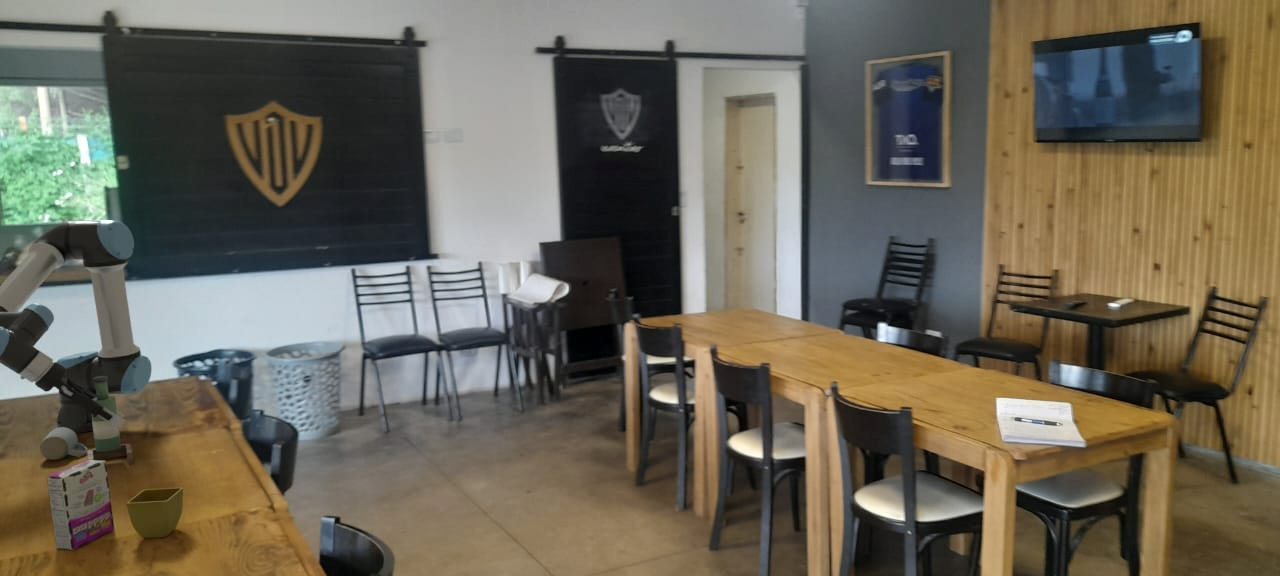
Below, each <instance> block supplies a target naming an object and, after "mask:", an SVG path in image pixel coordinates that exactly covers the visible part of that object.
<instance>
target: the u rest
mask: <svg viewBox="0 0 1280 576" xmlns="http://www.w3.org/2000/svg"><path fill="white" fill-rule="evenodd" d="M120 445H121V447H120V448H118V449H116V450H112V451H107V452H97V451H96V449H95V448H91V449H87V460H105V459H106V460H107V459H113V458H116V457H123V456H126V458H127V463H128V465H131V464H134V458H133V457H134V456H133V449H132V445H131V443H130V442H127V443H122V444H121V443H120Z"/></svg>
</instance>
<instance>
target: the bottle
mask: <svg viewBox="0 0 1280 576" xmlns="http://www.w3.org/2000/svg"><path fill="white" fill-rule="evenodd" d="M107 380H108V379H107V376H99V377H95V378H94V382H95V387H96V396H97V398H94V399H92V400H93V401H95V402H96V403H97V404H99V405H100V406H102V407H105V408H107V409H108V410H110V411H111V412H113V413H114V414H116V415H117V411H118V409H117V399H116V396H113V395H109V394H108V387H107ZM92 416H93V415H92ZM92 424H93V431H92V432H93V439H94V447H95V448H94V449H96V451H97V452H107V451H112V450H116V449H118V448H120V447H121V438H120V428H119V429H117V428H115V427H114V426H112V425H111V424H109V423H108V422H106V421H105V420H103V419H101V418H100V417H98V416H96V417H95V418H94V417H92Z"/></svg>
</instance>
